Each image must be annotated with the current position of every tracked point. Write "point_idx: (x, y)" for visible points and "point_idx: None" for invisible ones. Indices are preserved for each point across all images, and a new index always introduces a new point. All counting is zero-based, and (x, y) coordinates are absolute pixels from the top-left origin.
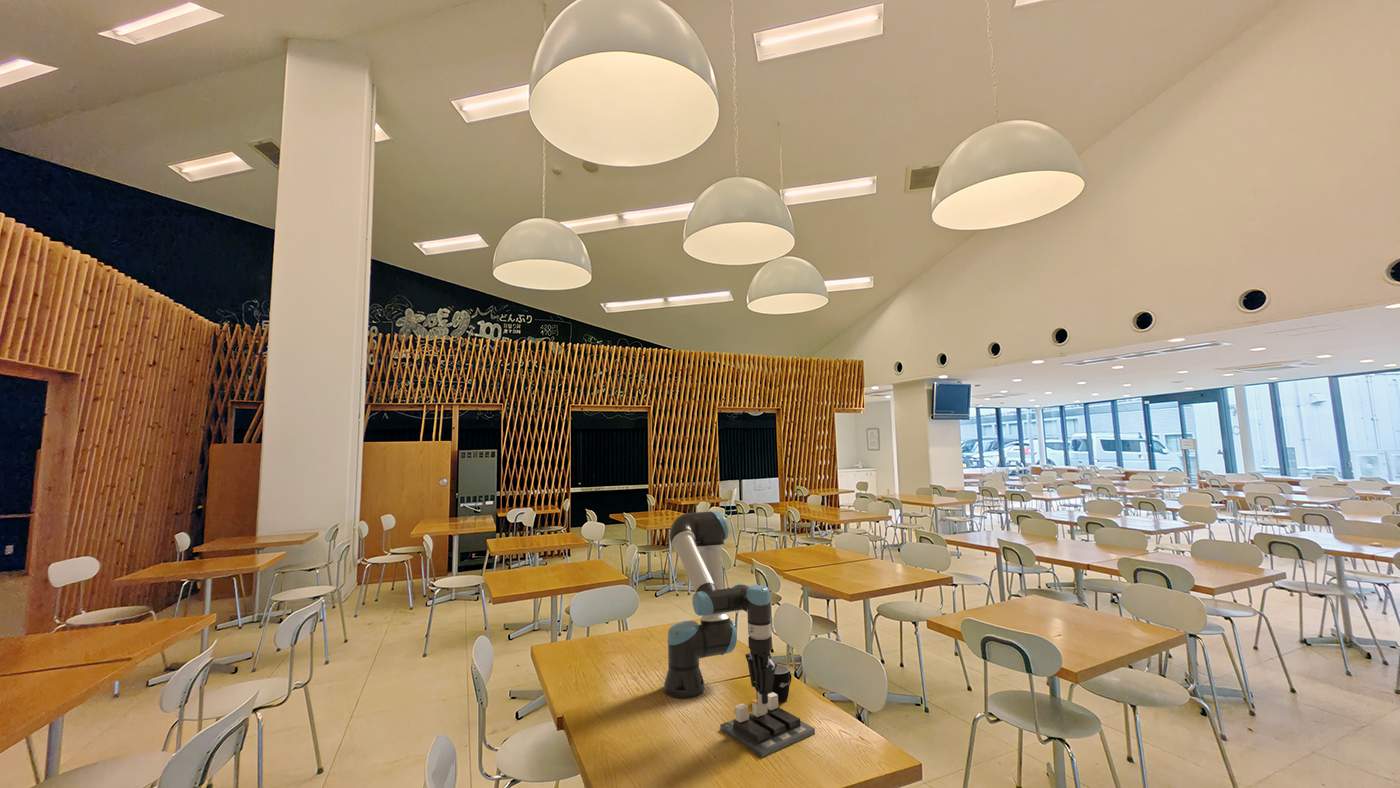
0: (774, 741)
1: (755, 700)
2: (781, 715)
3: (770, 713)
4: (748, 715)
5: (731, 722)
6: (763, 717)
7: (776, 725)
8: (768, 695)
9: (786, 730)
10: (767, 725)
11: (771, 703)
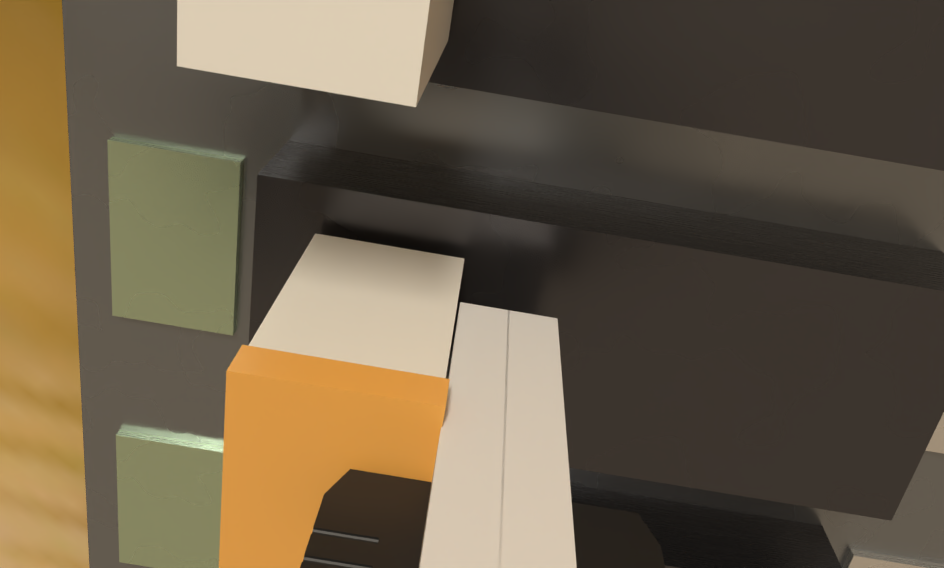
0: (914, 538)
1: (282, 546)
2: (742, 36)
3: (471, 84)
4: (131, 248)
5: (145, 541)
6: None
7: (857, 404)
8: (270, 41)
9: (933, 200)
10: (721, 485)
11: (437, 45)
